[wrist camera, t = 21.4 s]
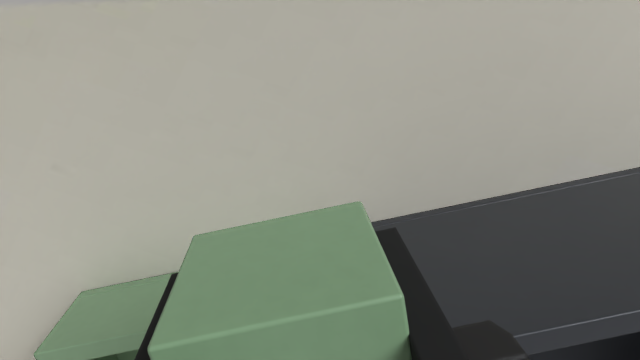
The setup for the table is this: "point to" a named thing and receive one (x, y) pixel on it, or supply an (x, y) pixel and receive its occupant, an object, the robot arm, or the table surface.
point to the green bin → (105, 322)
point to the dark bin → (539, 265)
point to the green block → (286, 293)
